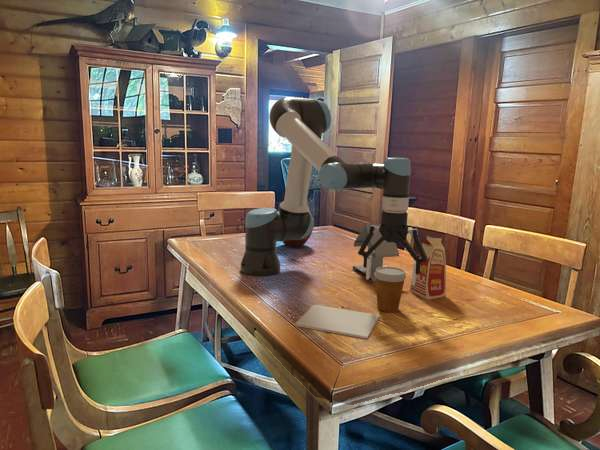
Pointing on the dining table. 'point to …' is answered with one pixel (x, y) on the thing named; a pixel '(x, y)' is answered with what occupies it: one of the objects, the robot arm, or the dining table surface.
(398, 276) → the disposable coffee cup
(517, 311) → the dining table surface
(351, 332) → the grey mat
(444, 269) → the milk carton
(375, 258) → the folded metal stand
